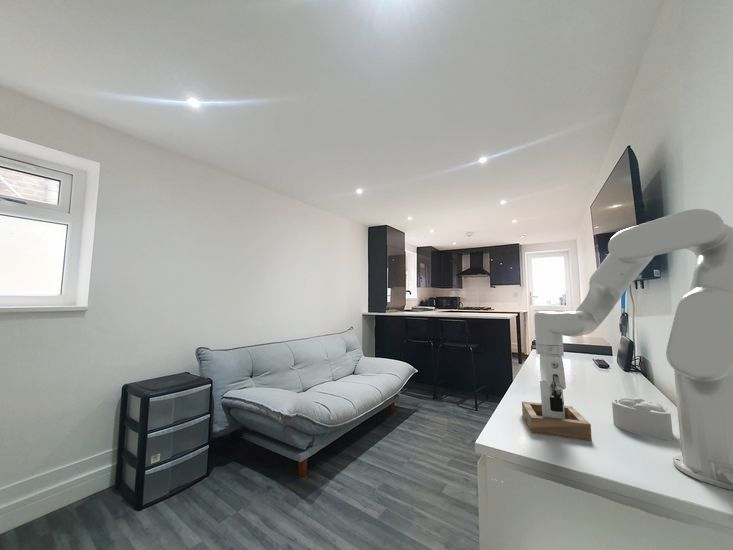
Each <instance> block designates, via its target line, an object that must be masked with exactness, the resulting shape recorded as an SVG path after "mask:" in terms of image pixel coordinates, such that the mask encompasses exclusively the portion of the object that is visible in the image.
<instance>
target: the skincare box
mask: <svg viewBox="0 0 733 550" xmlns="http://www.w3.org/2000/svg"><path fill="white" fill-rule="evenodd" d="M539 386H540V388H539V389H540V399H541V403H542V416H544V417H553V418H561V419H565V410H564V406H565V401H564V389H562V390H561V393H562V401H563V412H557V411H551V409H550V397H551V394H550V388H549V387H547V386H546V383H545V381H542V380H540V381H539ZM551 387H555V385H554V384H553V385H551ZM553 392H554V390H553Z"/></svg>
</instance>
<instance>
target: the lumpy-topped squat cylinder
mask: <svg viewBox="0 0 733 550" xmlns="http://www.w3.org/2000/svg"><path fill="white" fill-rule="evenodd" d="M611 405H612V420H613V426H615V427H617V428H618V429H621V430H623V431H626V432H629V433H633V434H636V435H640V436H645V437H649V438H656V439H660V440H666V441H667V440H670V441H671V440H674V433H673V432H674V431H673V423H672V413H671V412H670V411H669V410H668V408H667V407H666V406H663V405H661V404H660V403H658V402H655V401H648V400H647V401H646V400H645V399H643V398H641V397H633V398H630V397H621V398H620V399H613V400H611Z"/></svg>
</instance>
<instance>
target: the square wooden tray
mask: <svg viewBox="0 0 733 550" xmlns="http://www.w3.org/2000/svg"><path fill="white" fill-rule="evenodd" d="M521 408H522V410H521V411H522V417H523V416H524V417H523V418H524V420H525V422H526V424H527V425H528V428H529V431H530V432H531V434H536V433H537V435H538V434H539V435H545V436H551V435H552V436H553V437H561V438H568V439H574V438H575V439H577V440H582V441H583V440H584V441H592V440H593V438H592V437H593V436H592V424H591V423H590V422H589V421H588V419H586V418H585V417H584V416H583V415H582V414H580V412H579V411H577V410H576V409H575V408H574V407H573V406H572V405H571V406H570V405H564V410H565V419H561V418H553V417H544V416H542V403H540V402H531V401H521Z"/></svg>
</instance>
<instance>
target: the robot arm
mask: <svg viewBox="0 0 733 550" xmlns="http://www.w3.org/2000/svg"><path fill="white" fill-rule="evenodd" d="M607 250H608V252H609V253H608V254H607V255H606V257H605V258H604V259H603V261H602V262H601V263H600V265H599V266H598V267H597V268H596V269H595V270H594V272H593V274H591V276H590V278H589V282H588V284H589V286H588V293H587V295H586V296H585V298H584V299H583V301H582V302H581V303H580V305H579V306H578V307H577V308H576V309H575V310H573V311H571V310H570V311H562V312H557V311H536V312H535V313H534V314H533V315H534V316H533V318H534V319H533V321H534V334H535V335H534V337H535V352H536V354H537V355H539V371H540V372H539V373H540V381H545V383H546V386H547V387H549V388H550V394H551V397H550V409H551V411H557V412H563V401H562V393H561V390H562V389H563V390H565V389H566V388H567V384H566V375H565V367H564V361H563V357H564V355H565V353H564V352H565V351H564V340H563V336H567V337H582V336H587V335H589V334H592V333H594V332H595V331H596V330H597V329H598V328H599V327H600V325H601V324H602V323H603V322H604V321H605V320H606V318H607V317H608V316H609V315H610V313H611V312H612V311H613V310H614V308H615V307H616V305H617V303H619V301H620V300H621V298H622V296H623V295H624V294H625V292H626V291H627V289H628V288H629V287H630V286H631V285H632V283H634V281H635V280H636V279H637V278H638V277H639V275H640V274H641V273H642V272H643V271H644V269H645V268H646V267H647V266H648V265H649V264H650V262H651V261H652V260H653V258H654V257H655V256H659V255H664V254H668V253H673V252H676V251H679V250H688V251H691V252H692V253H694V255H695V257H696V263H695V266H694V270H693V273H692V274H693V275H692V280H691V284H690V287H689V291H688V292H687V293H686V294H684V295H683V296H682V297H681V298H680V299H679V302H678V304H677V306H676V310H675V313H674V318H673V322H672V325H671V330H670V333H669V338H668V342H667V345H666V349H665V356H666V361H667V362H668V364H669V366H670V367H671V368H672V369H673V371H674V388H675V389H674V390H675V397H676V400H675V401H676V408H677V409H676V410H677V420H678V421H677V422H678V430H679V441H680V448H681V449H680V450H681V454H680V455H675V456H674V457H673V458H672V463H673V465H674V466H675V467H676V468H677V469H678V470H679V471H681V472H682V473H684V474H686V475H688V476H689V477H692V478H693V479H696V480H698V481H701V482H703V483H706V484H708V485H709V484H710V485H712V486H716V487H719V488H723V489H725V490H726V489H727V490H731V491H733V227H732V226H731V225H728V224H726V223H725V222H724V220H723V219H722V217H721V216H720V215H719V214H718V213H716V212H714V211H712V210H709V209H706V208H705V209H704V208H692V209H685V210H682V211H678V212H675V213H672V214H669V215H665V216H663V217H659V218H656V219H654V220H650V221H646V222H644V223H643V222H642V223H640V224H638V225H633V226H631V227H628V228H625V229H622V230H620V231H618V232H616V233H615V234H614V235H613V236H612V237H611V238H610V240H609V241H608V244H607ZM553 384H554V385H555V387H551V385H553ZM553 390H554V392H553Z"/></svg>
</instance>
